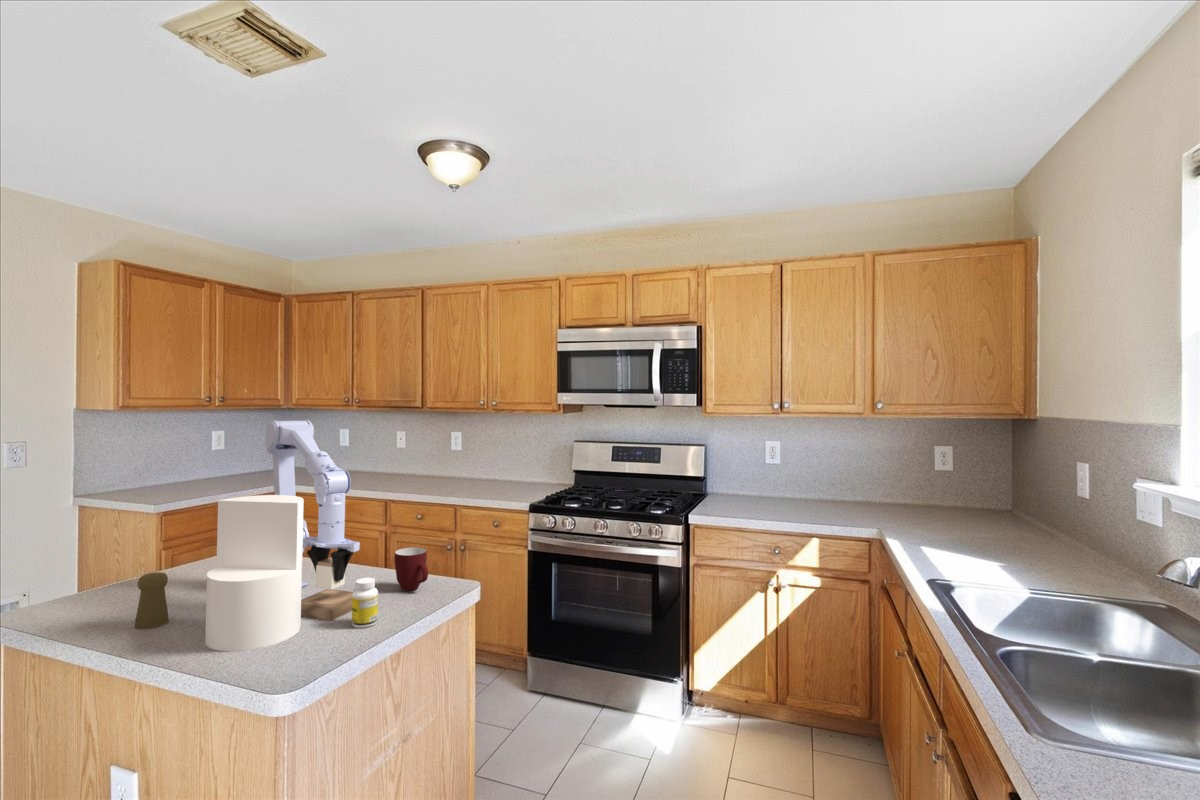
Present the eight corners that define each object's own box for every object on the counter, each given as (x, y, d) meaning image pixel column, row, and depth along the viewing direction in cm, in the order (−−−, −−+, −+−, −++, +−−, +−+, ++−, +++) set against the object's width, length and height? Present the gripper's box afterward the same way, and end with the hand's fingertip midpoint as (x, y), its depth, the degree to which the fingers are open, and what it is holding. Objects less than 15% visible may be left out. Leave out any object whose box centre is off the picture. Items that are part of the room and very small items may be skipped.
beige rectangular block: (315, 587, 133) (316, 561, 133) (329, 581, 137) (330, 557, 137) (331, 589, 131) (332, 563, 131) (344, 583, 136) (345, 558, 136)
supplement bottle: (351, 621, 128) (352, 577, 128) (377, 617, 130) (378, 575, 130) (351, 630, 123) (352, 585, 123) (378, 626, 125) (379, 582, 125)
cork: (130, 631, 120) (131, 579, 120) (138, 621, 125) (139, 571, 125) (166, 626, 123) (167, 575, 123) (171, 616, 128) (173, 568, 128)
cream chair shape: (241, 616, 129) (244, 493, 129) (316, 619, 129) (319, 496, 129) (183, 649, 112) (187, 508, 112) (269, 653, 111) (272, 510, 111)
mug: (439, 588, 151) (440, 551, 151) (417, 597, 144) (418, 558, 144) (409, 582, 155) (410, 546, 156) (386, 590, 148) (387, 552, 148)
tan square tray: (295, 615, 131) (295, 601, 131) (327, 600, 140) (327, 588, 140) (331, 620, 128) (331, 606, 128) (361, 605, 137) (361, 592, 137)
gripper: (293, 522, 132) (291, 580, 132) (345, 527, 128) (343, 587, 128) (316, 516, 139) (314, 572, 139) (366, 521, 135) (364, 578, 135)
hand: (330, 579), depth 134 cm, fingers closed on beige rectangular block, 4 cm apart
